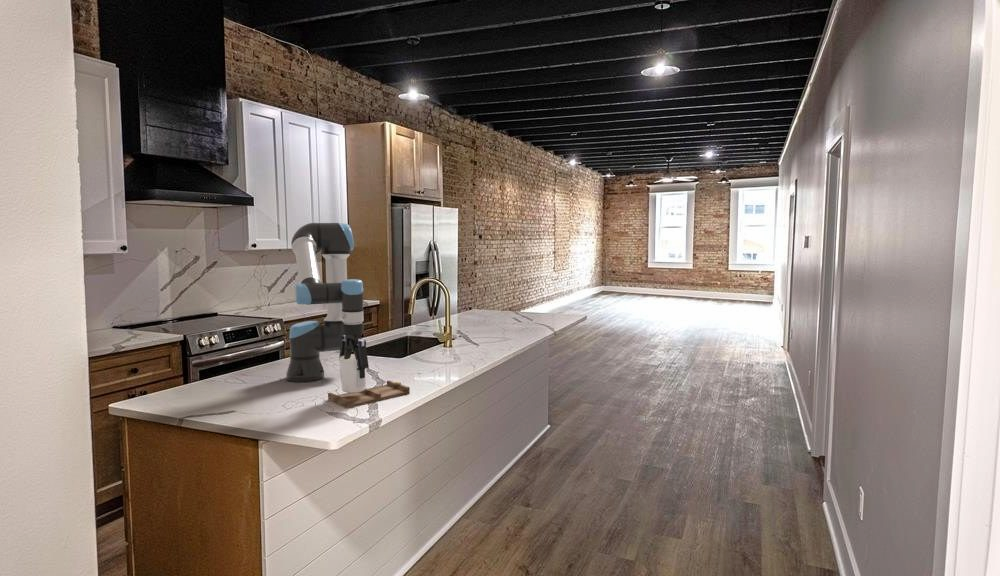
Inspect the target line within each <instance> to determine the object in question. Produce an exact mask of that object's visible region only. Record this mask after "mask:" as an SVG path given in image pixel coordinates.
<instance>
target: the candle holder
mask: <svg viewBox="0 0 1000 576" xmlns="http://www.w3.org/2000/svg"><path fill="white" fill-rule="evenodd" d="M338 361H339V369H340V382H341V390H342V392H343V393H356V392H361V391H364V390H365V389H366V388H367V369H368V368H366V369H365V386H363V387H359V388H358V387H357V368H358V365H357V360H356V358H355V354H354V353H351V357H350V358H349V359H344V356H341V357H340V358H338ZM365 365H366V364H365Z"/></svg>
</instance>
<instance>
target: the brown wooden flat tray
mask: <svg viewBox="0 0 1000 576" xmlns="http://www.w3.org/2000/svg"><path fill="white" fill-rule="evenodd" d="M410 389H411V387H410V386H407V385H404V384H402V382H401V381H391V380H386V384H384V385H377V386H374V387H369V388H368V387H366V389H365V390H364V391H361V392H356V393H348V392H344V393H342V394H336V393H335V394H334V393H332V392H327V400H328V401H330V402H332V403H335V404H337V405H339V406H342V407H344V408H346V409H350V408H354V407H359V406H364V405H368V404H372V403H375V402H380V401H384V400H389V399H393V398H396V397H403V396H405V395H410V393H411V392H410Z"/></svg>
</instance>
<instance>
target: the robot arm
mask: <svg viewBox="0 0 1000 576" xmlns="http://www.w3.org/2000/svg"><path fill="white" fill-rule="evenodd" d="M354 243H355V242H354V237H353V231H352V229H351V226H350V225H349V224H348V223H345V222H342V223H341V222H309V223H307V224H304V225H302V226H300V227H299V228H298V229H297V230H296V232H295V233H294V234H293V237H292V238H291V250H292V252H293V253H294V255H295V259H296V267H297V273H298V274H297V275H298V282H299V283H298V284H296V285H295V289H294V291H295V292H294V295H295V296H294V297H295V302H296V304H298V305H307V306H310V305H325V304H326V307H327V308H326V312H327V315H326V317H325V318H324V319H323V323H319V321H318V320H308V321H302V322H298V323H294V324H293V325H291V326H290V328H289V337H288V338H289V356H290V357H289V359H290V360H289V363H288V367H287V370H286V373H285V375H286V381H288V382H293V383H305V382H314V381H318V380H321V379H323V378H325V369H324V366H323V364H322V361H321V359H320V358H321V357H320V356H321V355H320V354H321V353H323V352H324V353H325V352H326V353H327V352H336V351H339V356H338V357H339V358H340V357H341V356H344V359H349V358H350V357H351V354H355V358H356V360H357V365H358V368H357V387H358V388H359V387H363V386H365V369H366V368H367V369H369V359H368V352H367V340H366V339H364V340H362V334H364V332H365V330H364V327H365V326H364V325H365V324H364V323H363V322H364V320H365V319H364V283H363V281H362V280H361V279H355V278H353V279H351V278H350V279H348V268H347V267H348V266H347V265H348V263H347V259H348V258H349V256H350V255H351V252H352V251H354V247H355V246H354V245H355V244H354ZM316 251H317V252H321V256H322V257H323V258H324V260H325V281H326V283H323V282H322V281H321V280H322V279H321V276H320V269H319V266H318V260H317V255H316ZM352 352H353V353H352ZM339 358H338V359H339ZM365 364H366V365H365Z"/></svg>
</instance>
